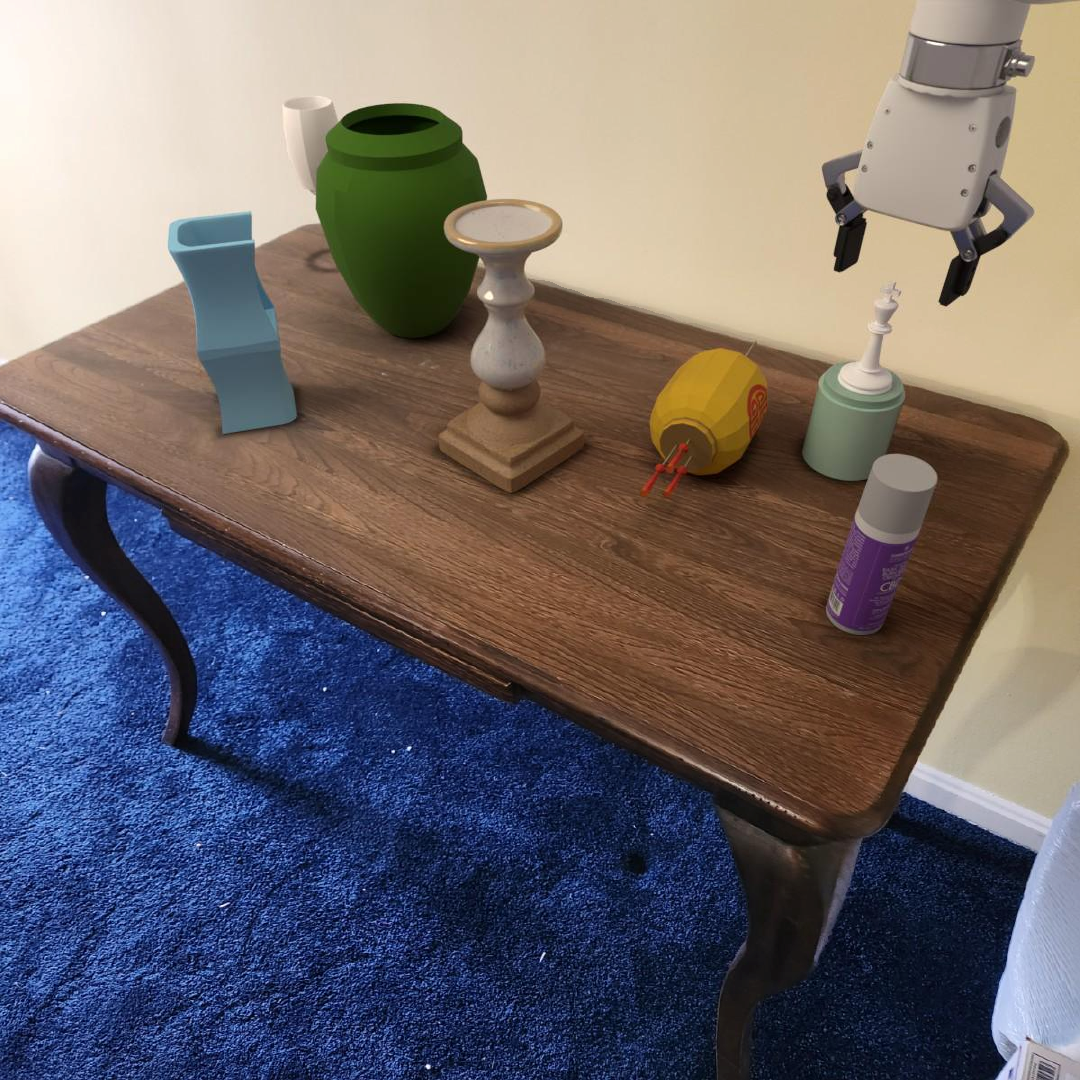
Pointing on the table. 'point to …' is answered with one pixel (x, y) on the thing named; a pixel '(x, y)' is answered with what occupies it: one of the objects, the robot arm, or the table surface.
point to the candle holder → (507, 351)
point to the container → (880, 542)
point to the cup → (307, 135)
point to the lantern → (707, 414)
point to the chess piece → (873, 351)
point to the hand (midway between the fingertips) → (895, 283)
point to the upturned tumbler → (850, 427)
